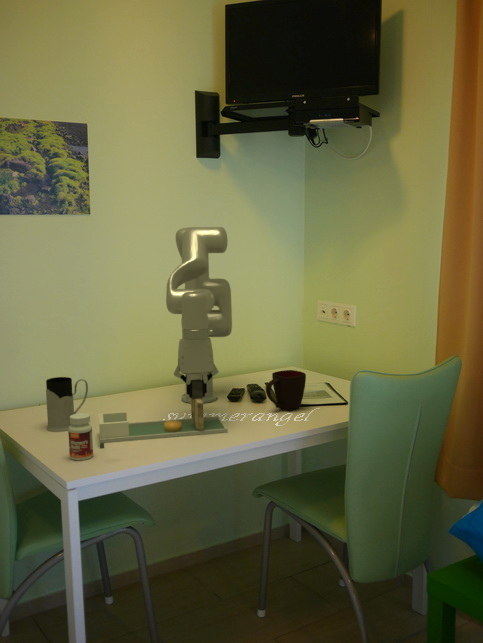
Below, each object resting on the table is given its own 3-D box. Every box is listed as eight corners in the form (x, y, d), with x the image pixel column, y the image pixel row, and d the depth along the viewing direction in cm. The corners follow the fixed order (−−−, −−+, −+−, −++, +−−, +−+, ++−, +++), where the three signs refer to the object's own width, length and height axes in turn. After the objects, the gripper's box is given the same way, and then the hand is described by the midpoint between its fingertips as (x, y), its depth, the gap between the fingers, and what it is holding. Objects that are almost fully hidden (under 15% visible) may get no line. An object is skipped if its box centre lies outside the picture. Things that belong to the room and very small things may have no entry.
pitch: (99, 433, 196) (98, 412, 196) (218, 423, 204) (218, 403, 203) (100, 448, 183) (99, 425, 182) (227, 437, 191) (227, 415, 190)
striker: (188, 419, 202) (187, 375, 200) (198, 419, 203) (197, 375, 201) (196, 433, 189) (195, 386, 187) (206, 432, 189) (205, 385, 187)
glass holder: (41, 427, 203) (38, 380, 200) (81, 417, 213) (79, 372, 211) (56, 433, 197) (53, 384, 194) (96, 423, 207) (94, 376, 205)
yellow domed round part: (162, 427, 196) (162, 421, 195) (179, 426, 197) (179, 419, 197) (166, 432, 191) (166, 425, 191) (183, 431, 193) (183, 424, 192)
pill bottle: (69, 461, 173) (66, 419, 171) (70, 453, 179) (68, 413, 177) (93, 459, 174) (91, 418, 173) (93, 452, 180) (91, 411, 179)
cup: (310, 409, 219) (310, 374, 217) (277, 416, 211) (276, 380, 209) (291, 403, 227) (291, 369, 225) (258, 410, 219) (258, 374, 217)
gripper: (220, 331, 197) (221, 391, 200) (165, 333, 194) (167, 395, 196) (225, 335, 190) (226, 397, 193) (168, 338, 186) (170, 401, 189)
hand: (196, 395), depth 194 cm, fingers closed on striker, 3 cm apart
